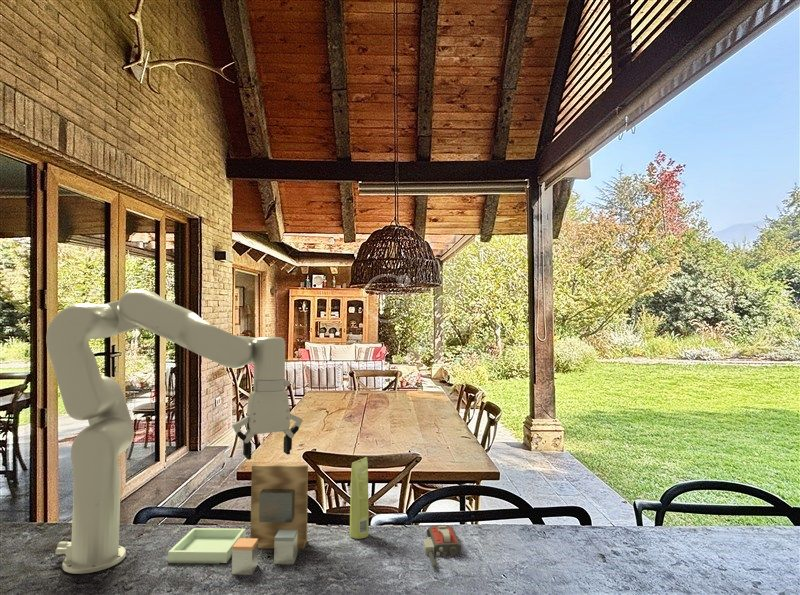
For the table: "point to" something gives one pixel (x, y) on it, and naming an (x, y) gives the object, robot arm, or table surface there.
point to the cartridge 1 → (245, 556)
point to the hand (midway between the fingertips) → (267, 455)
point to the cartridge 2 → (285, 546)
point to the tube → (359, 500)
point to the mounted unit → (279, 502)
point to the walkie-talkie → (441, 542)
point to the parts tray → (206, 546)
